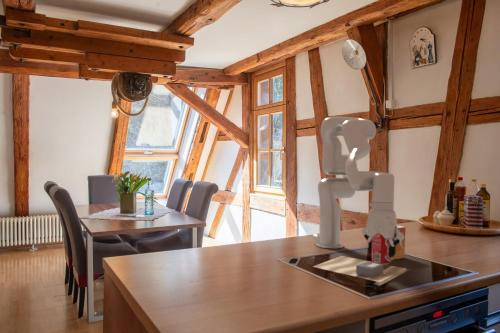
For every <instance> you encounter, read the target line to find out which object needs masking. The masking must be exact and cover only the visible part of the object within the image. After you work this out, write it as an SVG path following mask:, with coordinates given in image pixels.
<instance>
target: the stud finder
mask: <svg viewBox="0 0 500 333" xmlns="http://www.w3.org/2000/svg"><path fill="white" fill-rule="evenodd" d="M367 261H368V262H365V263H362V264H359V265H356V274H358V275H362V276H366V277H370V278H373V277H375V276H378V275H380V274H383V269H384V265H383V264H378V263H373V261H371V262H369V261H370V260H367Z"/></svg>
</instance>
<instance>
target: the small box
mask: <svg viewBox="0 0 500 333" xmlns="http://www.w3.org/2000/svg"><path fill="white" fill-rule="evenodd" d="M397 229H398V230H399V231H400V232H401V233H402V234H403V235H404V239H403V240H402V241H401V242H400V243H398V244H397V245H396V253H395V255H394V256H393V257H392V258H391V261H394V260H400V259H405V255H406V254H405V253H406V251H405V250H406V226H402V225H398V224H397ZM397 239H398V235H397V237H395V240H397Z"/></svg>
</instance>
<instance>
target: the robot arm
mask: <svg viewBox="0 0 500 333" xmlns="http://www.w3.org/2000/svg"><path fill="white" fill-rule="evenodd" d="M320 135H321V140H322V162H321V163H322V166H321V167H322V168H321V169H322V172H323V173H324V174H325V175H329V176H342V177H326V178H322V179H320V180H319V182H318V183H317V190H318V192H317V193H318V198H319V230H318V231H319V234H313V235H312V240H316V242H315V246H317V247H318V248H322V249H333V250H334V249H342V248H343V247H344V243H343V242H341V212H342V211H341V206H340V204H339V203H338V201H337V199H350V198H352V197H354V196H355V194H356V192H372V195H371V196H372V197H371V198H372V199H371V201H370V202H368V206H369V207H371V209H369V211H368V216H367V223H366V226H365V227H364V228H362V229H361V230H360V232H361V234H362V235H363V238H365V240H366V242H367V243H368V244H367V245H368V247H367V249H368V253H369V254H370V255H372V237H373V236H374V235H375V234H377V233H378V232H381V233H380V234H381V235H383V237H384V238H385V239H389V242H390V244H391V246H390V247H389V257H393V256H394V255H395V253H396V245H397V244H398V243H400V242H401V241H402V240H403V239H404V235H403V234H402V233H401V232H400V231H399V230H398V229H397V225H398V221H397V220H398V219H397V214H396V210H395V176H394V174H393V173H389V172H382V171H373V170H371V171H369V170H368V171H364V170H362V171H361V170H360V171H359V169H358V165H357V164H358V163H357V161H359V160H361V159H363V158H365V157H366V156H368V154H369V153H370V152H371V148H372V147H371V146H370V143H369V141H368V140H372V139H374V138H375V137H376V135H377V127H376V124H375V122H373V121H372V120H370V119H367V118H362V117H361V118H360V117H350V116H349V117H348V116H329V117H326V118H325V119H323V120H322V122H321V125H320ZM339 137H343V139H344V142H345V145H346V147H347V150H348V153H349V154H343V152H342V150H343V147H342V146H343V144H342V142H341V140H340V138H339ZM397 235H398V239H397V240H395V237H397Z"/></svg>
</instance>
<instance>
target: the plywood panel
mask: <svg viewBox="0 0 500 333" xmlns="http://www.w3.org/2000/svg"><path fill="white" fill-rule="evenodd" d="M368 261H369V262H373V261H372V260H371V261H370V260H365V259H361V258H354V257H349V256H344V255H341V256H338V257H335V258H332V259H330V260H327V261H323V262H322V263H318V264H316V265H314V266H312V267H313V268H317V269H319V270H320V269H321V270H325V271H328V272H333V273H337V274H342V275H348V276H350V277H351V276H352V277H356V278H360V279H364V280H368V281H374V283H373V282H372V285H375V286H382V285H384V284H385V283H387V282H389V281H391V280H393V279H395V278H397V277H398V276H400V275H402V274H404V273H406V271H407V267H401V266H395V265H390V264H387V265H384V269H383V274H380V275H378V276H375V277H373V278H370V277H366V276H362V275H358V274H356V265H359V264H362V263H365V262H368ZM373 263H374V262H373Z"/></svg>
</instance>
